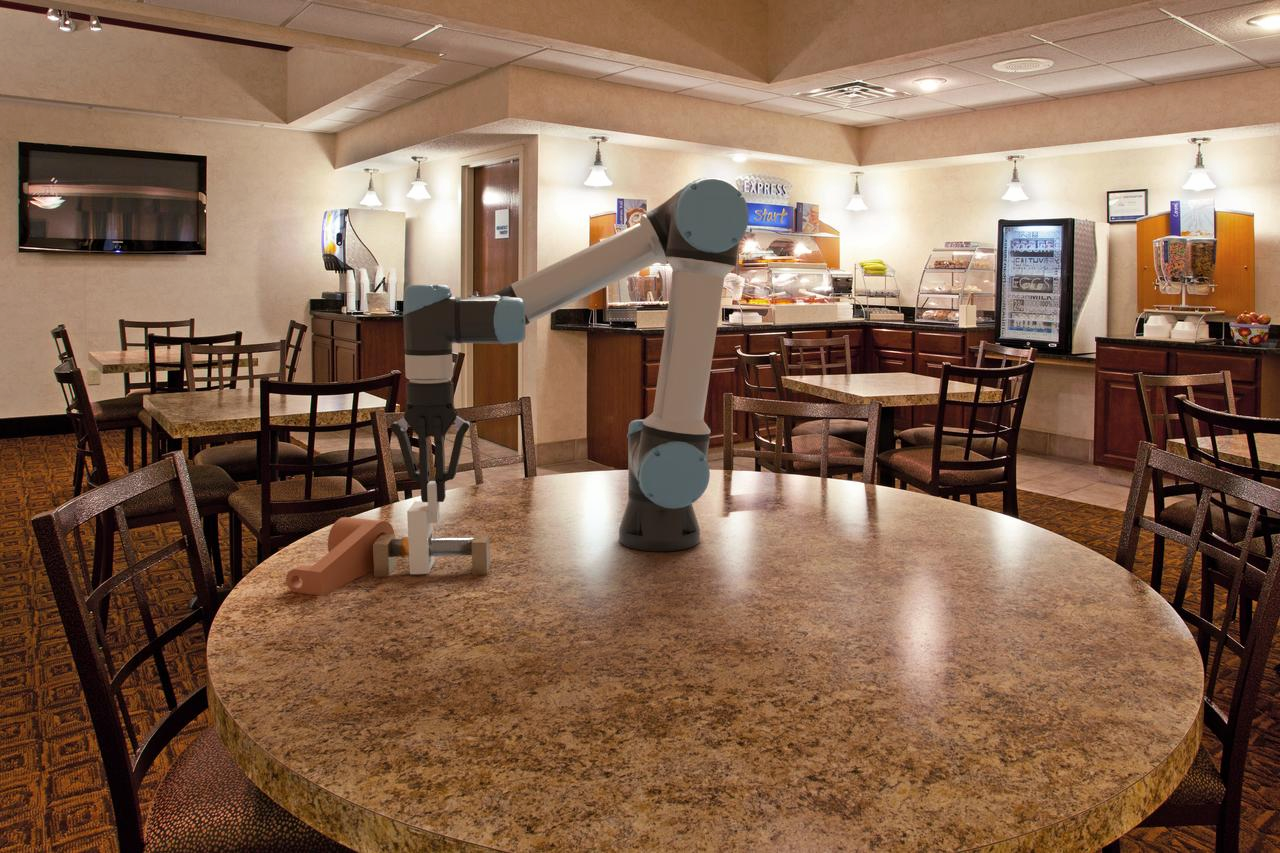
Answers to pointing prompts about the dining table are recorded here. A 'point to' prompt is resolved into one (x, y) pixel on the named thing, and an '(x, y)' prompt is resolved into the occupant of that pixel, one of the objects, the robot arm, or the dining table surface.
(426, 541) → the sleeve
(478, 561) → the pipe rig
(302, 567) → the crank
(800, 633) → the dining table surface
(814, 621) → the dining table surface
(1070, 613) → the dining table surface
